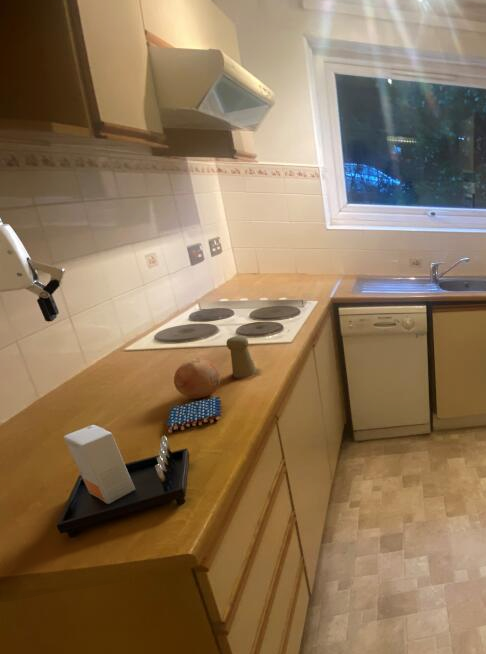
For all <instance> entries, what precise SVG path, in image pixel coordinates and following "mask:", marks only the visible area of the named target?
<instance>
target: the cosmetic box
mask: <svg viewBox="0 0 486 654" xmlns="http://www.w3.org/2000/svg"><path fill="white" fill-rule="evenodd" d="M63 440H64V441H65V443H66V446H67V448H68V450H69V452H70V454H71V456H72V459H73V461H74V463H75V466H76V467H77V470H78V471H79V474H80V475H81V476H82V478H83V480H84V482H85V484H86V487H87V489H88V491H89V493H90V494H92V495H94V496H95V497H97V498H99V499H101V500H102V501H104V502H105V503H107V504H110V503H111V502H113V501H115V500H117V499H119V498H121V497H123V496H125V495H126V494H128V493H130V492H132V491H134V490H135V487H134V485H133V483H132V480H131V478H130V476H129V473H128V471H127V468H126V466H125V464H126V463H125V460H124V458H123V456H122V454H121V451H120V449H119V447H118V444H117V443H116V439H115V437H114V435H113V433H112V432H110V431H108V430H106V429H105V428H103V427H100V426H98V425H95V424H91V425H88V426H86V427H83V428H80V429H78V430H76V431H73V432H70V433H68V434H65V435H64V436H63Z"/></svg>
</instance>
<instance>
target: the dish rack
mask: <svg viewBox="0 0 486 654" xmlns="http://www.w3.org/2000/svg"><path fill="white" fill-rule="evenodd" d="M160 439H161V442H160V443H159V447H160V449H158V452H157V453H158V455H154V456H150V457H147V458H142V459H139V460H134V461H131V462H127V463H125V466H126V468H127V471H128V473H129V476H130V478H131V480H132V483H133V485H134V487H135V490H134V491H132V492H130V493H128V494H126V495H125V496H123V497H121V498H119V499H117V500H115V501H113V502H111V503H110V504H107V503H105V502H104V501H102V500H101V499H99V498H97V497H95V496H94V495H92V494H90V493H89V491H88V489H87V487H86V484H85V482H84V480H83V478H82V476H81V474H80V475H78V476H77V479H76V481H75V483H74V485H73V487H72V490H71V492H70V494H69V496H68V498H67V501H66V503H65V505H64V507H63V509H62V512H61V514H60V516H59V518H58V520H57V522H56V525H55V526H56V528H57V530H58V532H59V534H60V535H61V534H65V533H67V535H68V538H75V537H77V536H79V534H80V531H79V530H80V529H81V528H85V527H89V526H92V525H95V524H99V523H102V522H106V521H109V520H112V519H115V518H119V517H123V516H126V515H129V514H133V513H136V512H139V511H143V510H146V509H149V508H152V507H156V506H160V505H162V504H166V503H170V502H173V501H175V502H176V505H178V506H181V505H183V504H185V502H186V498H185V497H186V493H187V484H188V475H189V466H190V452H189V450H188V448H183V449H178V450H174V451H171V448H170V445H169V442H168V439H167V436H165V435H162V436H161V438H160Z"/></svg>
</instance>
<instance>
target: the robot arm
mask: <svg viewBox="0 0 486 654" xmlns="http://www.w3.org/2000/svg"><path fill="white" fill-rule="evenodd" d="M38 272H42V273H46V274H49V275H50V279H49V282H48V283H47V284H44V283H43V282H42V281H39V280H40V277H39V273H38ZM65 273H66V270H65V268H64V267H60V266H57V265H53V264H49V263H45V262H42V261H38V260H35V259H32V258H31V256H30V255H29V253H28V251H27V249H26V247H25V245H24V244H23V242H22V241H21V239H20V238H19V236H18V235H17V233H16V232H15V230H14V229H13V228H12V227H11V225H10V224H9V223H3V220H2V218H1V217H0V293H2V292H3V293H4V292H15V291H22V290H27V291H28V292H31V293H32V294H34V295H36V296H38V298H37V299H36V302H37V304H38V308H40V311H41V314H42V316H43V319H44V321H45V322H49V323H50V322H53V321H54V320H55V319H56V318H57V317H58V315H59V314H60V311H59V308H58V306H57V303H56V301H55V298H54V296H53V294H54V293H55V292H56V291H57V290H58V289H59V287H60V286H61V285H62V284H63V283H62V282H63V279H64V276H65Z"/></svg>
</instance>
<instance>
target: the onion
mask: <svg viewBox="0 0 486 654" xmlns="http://www.w3.org/2000/svg"><path fill="white" fill-rule="evenodd" d="M220 382H221V375H220V372H219V369H218V368H217V366H216V365H214V364H213V363H212V362H210V361H209V360H206V359H203V358H193V359H192V358H191V359H189V360H187V361H185V362H184V363H183V364H181V365H180V366H179V367H178V368H177V369H176V371H175V373H174V376H173V384H174V387H175V389H176V390H177V392H179V393H180V394H181V395H182V396H184V397H187V398H190V399H195V400H196V399H203V398H206V397H208V396H210V395H211V394H213V393H215V391H216V390H217V389H218V388H219V386H220Z"/></svg>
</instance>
